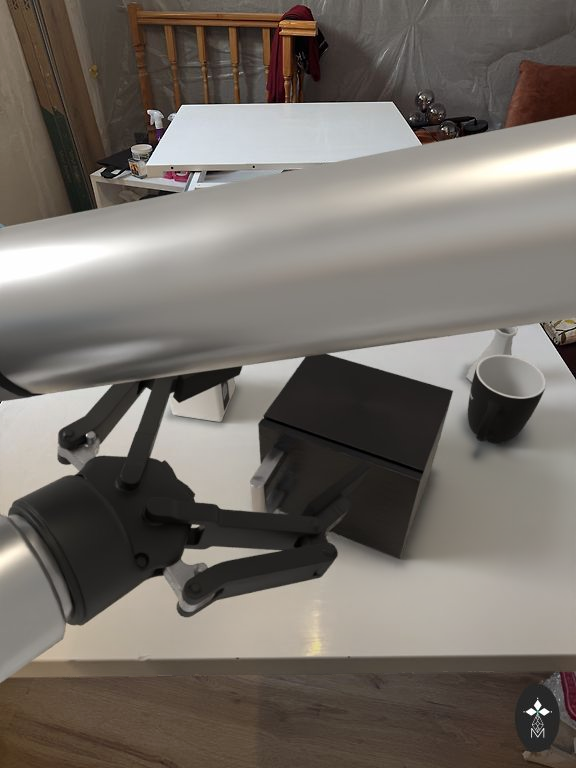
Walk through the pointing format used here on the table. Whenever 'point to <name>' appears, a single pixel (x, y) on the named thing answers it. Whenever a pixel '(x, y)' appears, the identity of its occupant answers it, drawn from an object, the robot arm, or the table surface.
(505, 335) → the flask
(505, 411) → the mug
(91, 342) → the robot arm
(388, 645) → the table surface
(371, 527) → the door
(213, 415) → the container
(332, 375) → the dark grey cabinet
